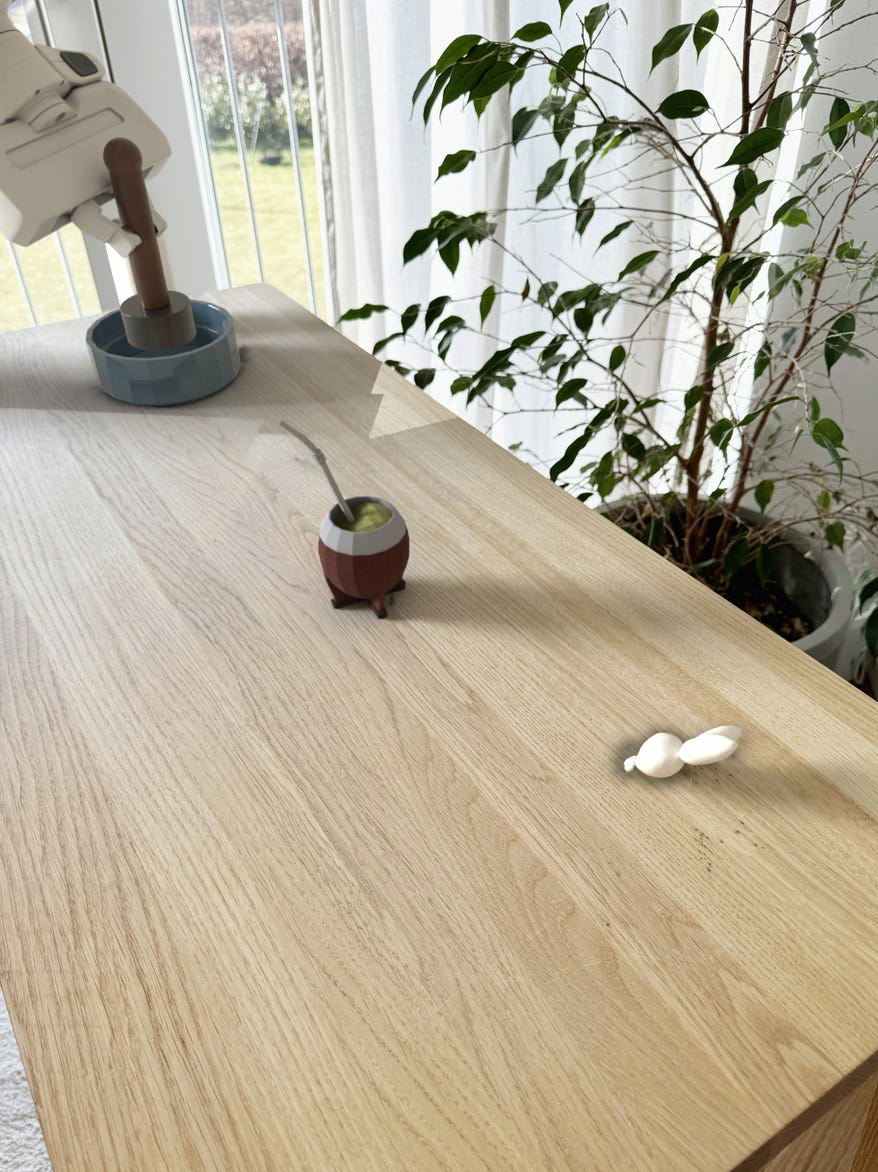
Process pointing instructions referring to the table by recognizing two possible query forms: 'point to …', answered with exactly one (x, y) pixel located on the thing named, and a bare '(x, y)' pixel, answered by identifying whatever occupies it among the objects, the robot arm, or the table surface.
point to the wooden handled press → (145, 260)
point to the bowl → (165, 360)
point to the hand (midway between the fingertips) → (147, 242)
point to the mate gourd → (359, 544)
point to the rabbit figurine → (683, 751)
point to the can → (124, 271)
